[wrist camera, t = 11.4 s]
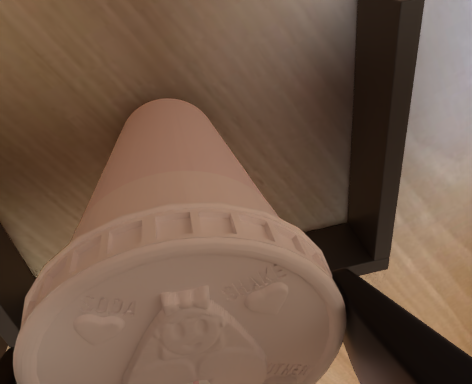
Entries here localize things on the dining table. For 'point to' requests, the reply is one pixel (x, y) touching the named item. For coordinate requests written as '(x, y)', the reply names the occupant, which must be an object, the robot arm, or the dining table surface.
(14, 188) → the dining table surface
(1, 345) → the power block
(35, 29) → the dining table surface
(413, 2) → the brown u-shaped frame
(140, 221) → the smoothie
